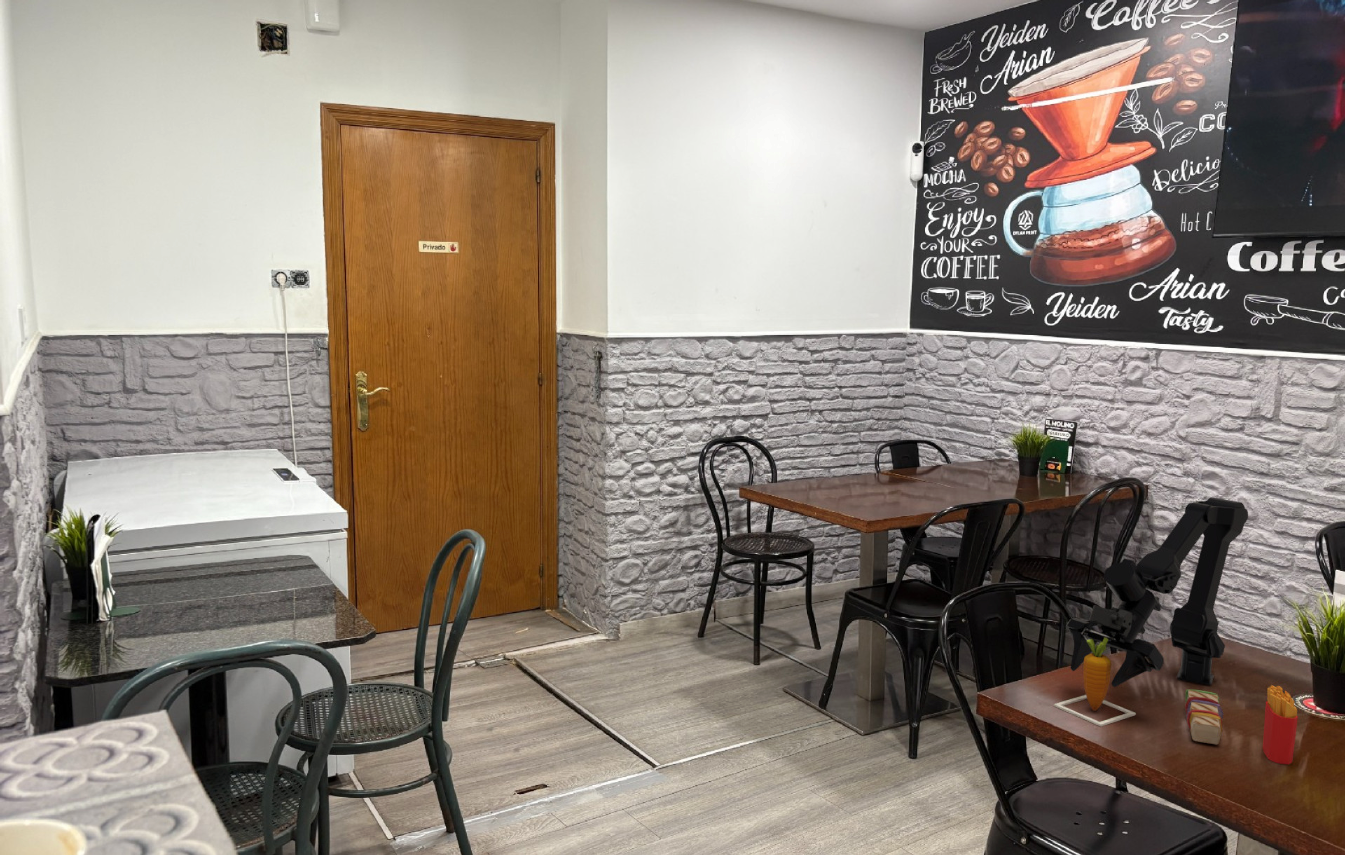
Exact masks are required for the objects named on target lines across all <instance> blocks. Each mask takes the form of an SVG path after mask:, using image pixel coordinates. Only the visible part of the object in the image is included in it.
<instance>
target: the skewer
mask: <svg viewBox="0 0 1345 855" xmlns="http://www.w3.org/2000/svg"><path fill="white" fill-rule="evenodd" d="M1184 697H1185V700H1184V701H1185V706H1184V709H1185V718H1186V724H1187V726H1188V728H1189V730H1190V732H1189V733H1190V734H1191V738H1192V741H1195V742H1199V743H1205V744H1206V743H1207V744H1212V745H1219V743H1220V740H1221V736H1222V733H1223V718H1224V711H1223V708H1222V707H1221V706H1222V705H1220V697H1219V695H1218V693H1215V692H1211V691H1207V690H1206V691H1205V690H1199V689H1186V690H1185V694H1184Z"/></svg>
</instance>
